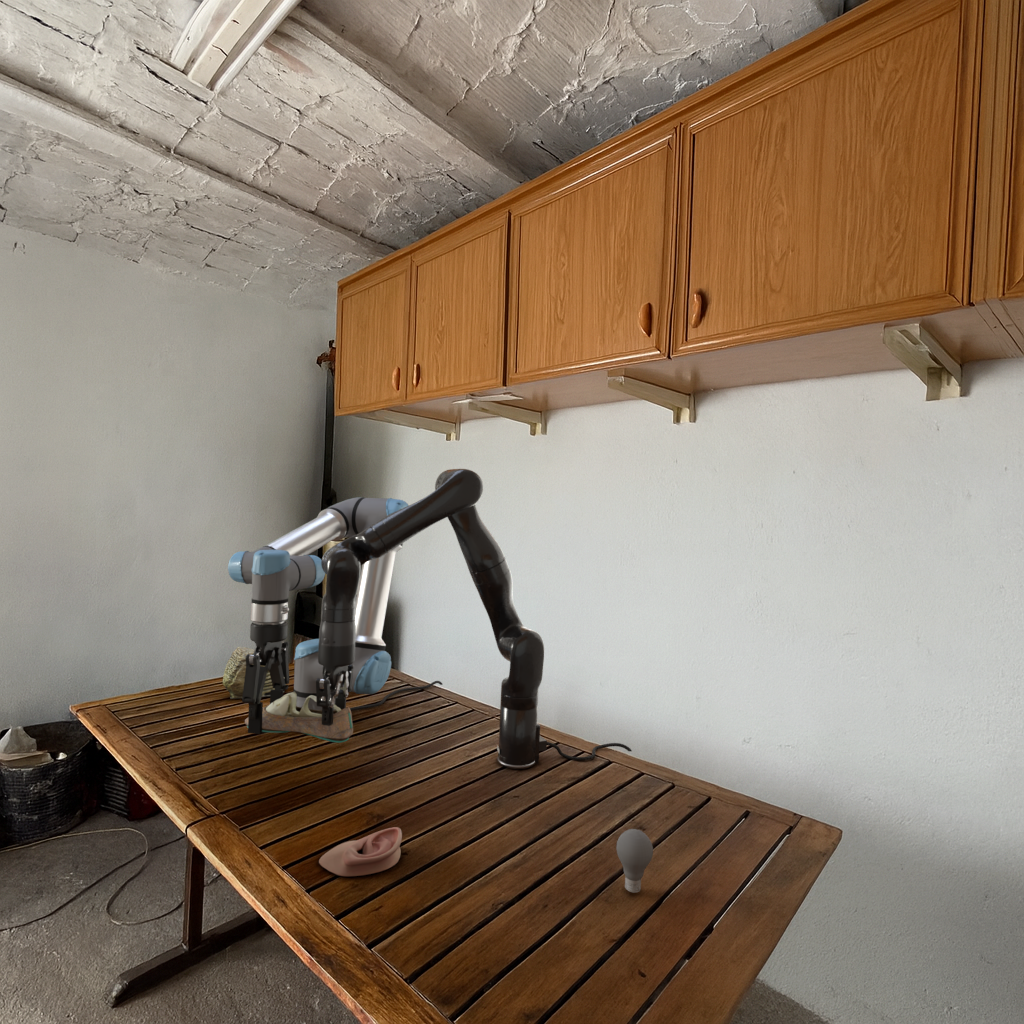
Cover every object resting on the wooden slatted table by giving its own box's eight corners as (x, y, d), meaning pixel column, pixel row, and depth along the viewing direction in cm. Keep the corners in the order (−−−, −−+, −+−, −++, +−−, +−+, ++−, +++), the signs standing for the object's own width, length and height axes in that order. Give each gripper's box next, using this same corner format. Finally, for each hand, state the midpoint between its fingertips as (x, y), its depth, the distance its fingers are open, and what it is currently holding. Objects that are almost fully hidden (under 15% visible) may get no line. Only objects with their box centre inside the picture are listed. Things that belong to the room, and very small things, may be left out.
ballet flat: (256, 718, 142) (258, 682, 142) (361, 731, 139) (363, 694, 139) (235, 732, 134) (237, 693, 134) (346, 746, 131) (348, 707, 130)
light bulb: (610, 879, 108) (613, 822, 108) (644, 879, 109) (647, 822, 109) (619, 902, 102) (622, 840, 102) (655, 901, 103) (658, 840, 103)
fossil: (218, 695, 195) (220, 647, 195) (278, 685, 208) (279, 640, 207) (228, 703, 189) (230, 653, 188) (289, 692, 201) (290, 645, 201)
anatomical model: (310, 847, 107) (342, 815, 118) (309, 871, 107) (341, 836, 118) (384, 860, 104) (409, 825, 116) (383, 884, 104) (408, 847, 116)
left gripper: (259, 632, 126) (255, 745, 127) (307, 614, 147) (304, 711, 147) (224, 629, 127) (221, 741, 128) (277, 612, 148) (274, 708, 148)
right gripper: (339, 649, 127) (336, 733, 127) (366, 635, 141) (363, 710, 141) (304, 646, 128) (301, 729, 128) (334, 633, 142) (331, 707, 142)
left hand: (265, 725), depth 138 cm, fingers closed on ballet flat, 8 cm apart
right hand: (333, 719), depth 135 cm, fingers closed on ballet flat, 6 cm apart
